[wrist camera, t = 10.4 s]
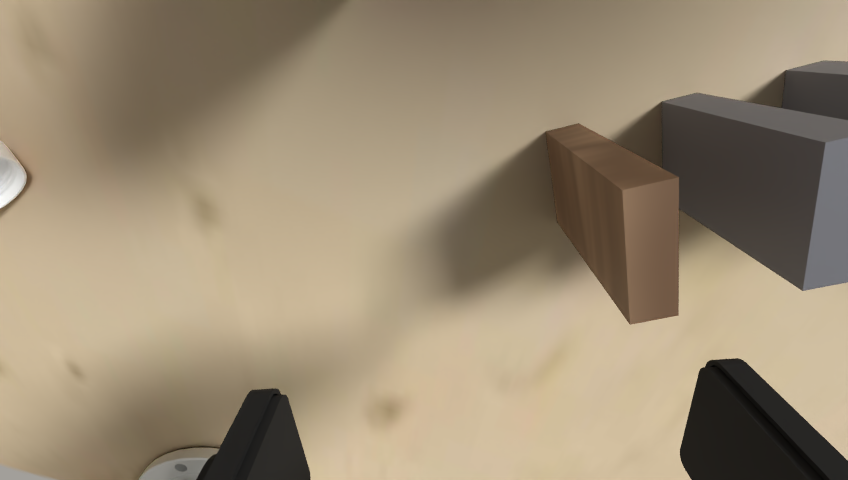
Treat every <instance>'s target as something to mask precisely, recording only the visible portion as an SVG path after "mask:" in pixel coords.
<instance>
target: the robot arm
mask: <svg viewBox="0 0 848 480" xmlns="http://www.w3.org/2000/svg"><path fill="white" fill-rule="evenodd" d="M680 457H681V461H682V464H683V466H684V468H685V470H686V471H687V473H688V475H689V476H690V478H691V479H692V480H848V461H847V460H846V459H845V458H844V457H843V456H842V455H841V454H840V453H839V452H838V451H837V450H836V449H835V448H834V447H833V446H832V445H831V444H830V443H829V442H828V441H827V440H826V439H825V438H824V437H823V436H822V435H820V434H819V433H818V432H817V431H816V430H815V429H814V428H813V427H812V426H811V425H810V424H809V423H808V422H807V421H806V420H805V419H804V418H803V417H802V416H801V415H800V414H799V413H798V412H797V411H796V410H795V409H794V408H793V407H791V406H790V405H789V404H788V403H787V402H786V401H785V400H784V399H783V398H782V397H781V396H780V395H779V394H778V393H777V392H776V391H775V390H774V389H773V388H772V387H771V386H770V385H769V384H768V383H767V382H766V381H765V380H763V379H762V378H761V377H760V376H759V375H758V374H757V373H756V372H755V371H754V370H753V369H752V368H751V367H750V366H749V365H748V364H747V363H746V362H744V361H743V360H741V359H738V358H737V359H722V360H710V361H708V362H707V364H706V366H705V367H704V368H701V369H700V371H699V375H698V379H697V383H696V387H695V391H694V395H693V399H692V403H691V407H690V411H689V415H688V420H687V424H686V428H685V432H684V436H683V440H682V444H681V448H680ZM138 480H310V471H309V467H308V464H307V460H306V457H305V454H304V450H303V447H302V444H301V440H300V437H299V434H298V430H297V427H296V424H295V420H294V417H293V414H292V410H291V407H290V404H289V400H288V397H287V396H286V395H281V394H280V391H279V390H278V389H261V390H252V391H250V392H249V393H248V395H247V397H246V399H245V400H244V402H243V404H242V406H241V408H240V410H239V412H238V414H237V416H236V418H235V420H234V422H233V424H232V425H231V427H230V429H229V431H228V433H227V435H226V437H225V439H224V441H223V443H222V445H221V447H220V449H217V448H189V449H181V450H177V451H174V452H171V453H167V454H165V455H163V456H161V457H159V458H157V459H155V460H154V461H153V462H152V463H151V464H150V465H149V466H147V467H146V469H145V470H144V472H143V473H142V475H141V476H140V478H139V479H138Z"/></svg>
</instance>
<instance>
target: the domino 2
mask: <svg viewBox="0 0 848 480" xmlns="http://www.w3.org/2000/svg"><path fill="white" fill-rule="evenodd" d="M662 168H663V169H665V170H666V171H668V172H670V173H672V174H674V175H676V176H678V177H679V209H680V210H682V211H683V212H685V213H686V214H688V215H689V216H691V217H692V218H694V219H695V220H697V221H698V222H700V223H701V224H703V225H704V226H706V227H707V228H709V229H710V230H712V231H713V232H715V233H716V234H718V235H719V236H721V237H722V238H724V239H725V240H727V241H728V242H730V243H731V244H733V245H734V246H736V247H737V248H739V249H740V250H742V251H743V252H745V253H746V254H748V255H749V256H751V257H752V258H754V259H755V260H757V261H758V262H760V263H761V264H763V265H764V266H766V267H767V268H769V269H770V270H772V271H773V272H775V273H776V274H778V275H779V276H781V277H783V278H784V279H786V280H787V281H789V282H790V283H792V284H793V285H795V286H796V287H798V288H799V289H801V290H802V291H805V290H810V289H815V288H820V287H825V286H831V285H836V284H841V283H846V282H848V120H843V119H838V118H832V117H827V116H821V115H816V114H810V113H805V112H799V111H794V110H789V109H783V108H778V107H772V106H767V105H761V104H756V103H750V102H745V101H739V100H734V99H728V98H723V97H717V96H712V95H706V94H701V93H694V94H690V95H686V96H682V97H678V98H674V99H670V100H666V101H662Z"/></svg>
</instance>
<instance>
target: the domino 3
mask: <svg viewBox="0 0 848 480" xmlns="http://www.w3.org/2000/svg"><path fill="white" fill-rule="evenodd" d="M782 108H783V109H789V110H794V111H799V112H805V113H810V114H816V115H821V116H827V117H832V118H838V119H843V120H848V62H844V61H820V62H816V63H812V64H808V65H805V66H801V67H797V68H793V69H789V70H786V74H785V83H784V93H783V102H782Z"/></svg>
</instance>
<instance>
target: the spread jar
mask: <svg viewBox="0 0 848 480" xmlns="http://www.w3.org/2000/svg"><path fill="white" fill-rule="evenodd" d="M26 178H27V174H26V172H25V170H24V168H23V166H22V165H21V164H20V162H19V161H18V160H17V158H16V157H15V156H14V154H13V153H12V152H11V150H10V149H9V148H8V147H7V146H6V145H5V144H4V143H3V142H2V141H0V209H1V208H2V207H4V206H6V205H7V204H8V203H10V202H11V201H12V200H13V199H15V198H16V197H17V196H18V194H19V193H20V192H21V191H22V190H23V188H24V186H25V184H26Z"/></svg>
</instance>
